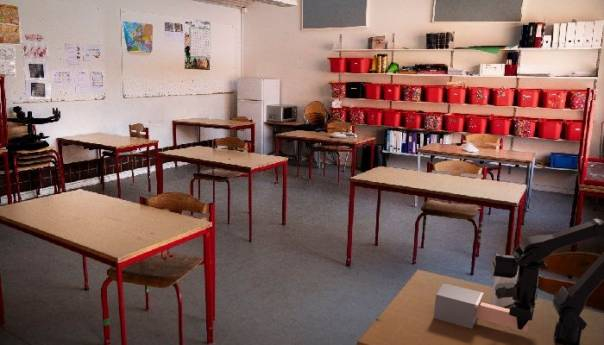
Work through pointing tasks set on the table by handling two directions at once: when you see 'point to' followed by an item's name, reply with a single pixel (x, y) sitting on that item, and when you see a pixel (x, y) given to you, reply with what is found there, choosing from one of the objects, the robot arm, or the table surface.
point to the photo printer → (502, 301)
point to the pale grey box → (457, 305)
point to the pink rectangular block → (497, 316)
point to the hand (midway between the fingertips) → (520, 327)
